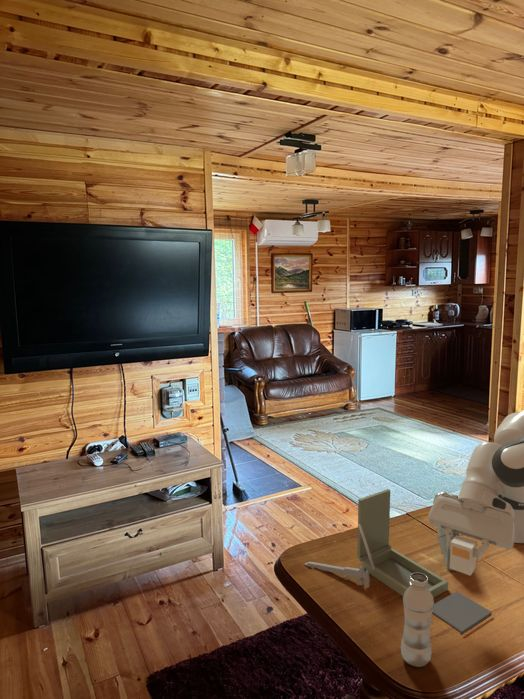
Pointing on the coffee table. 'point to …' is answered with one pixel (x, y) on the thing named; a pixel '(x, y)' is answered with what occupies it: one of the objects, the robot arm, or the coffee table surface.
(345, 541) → the coffee table surface
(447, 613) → the rubber mat
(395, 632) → the coffee table surface
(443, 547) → the geiger counter
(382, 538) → the equipment case
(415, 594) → the plastic bottle
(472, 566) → the block
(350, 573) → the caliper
